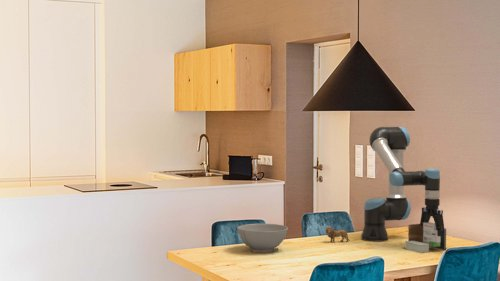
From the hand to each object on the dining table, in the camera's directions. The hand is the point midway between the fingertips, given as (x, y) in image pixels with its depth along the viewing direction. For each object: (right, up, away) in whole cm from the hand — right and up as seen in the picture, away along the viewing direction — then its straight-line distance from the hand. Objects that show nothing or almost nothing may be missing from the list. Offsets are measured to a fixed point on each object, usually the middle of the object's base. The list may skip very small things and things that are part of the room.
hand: (431, 240), depth 382 cm
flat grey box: (-8, -5, -2) cm, 10 cm away
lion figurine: (-47, -5, +27) cm, 54 cm away
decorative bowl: (-89, -6, +3) cm, 89 cm away
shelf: (-3, -5, +2) cm, 7 cm away
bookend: (+5, -4, +4) cm, 8 cm away
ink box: (0, -3, 0) cm, 3 cm away
